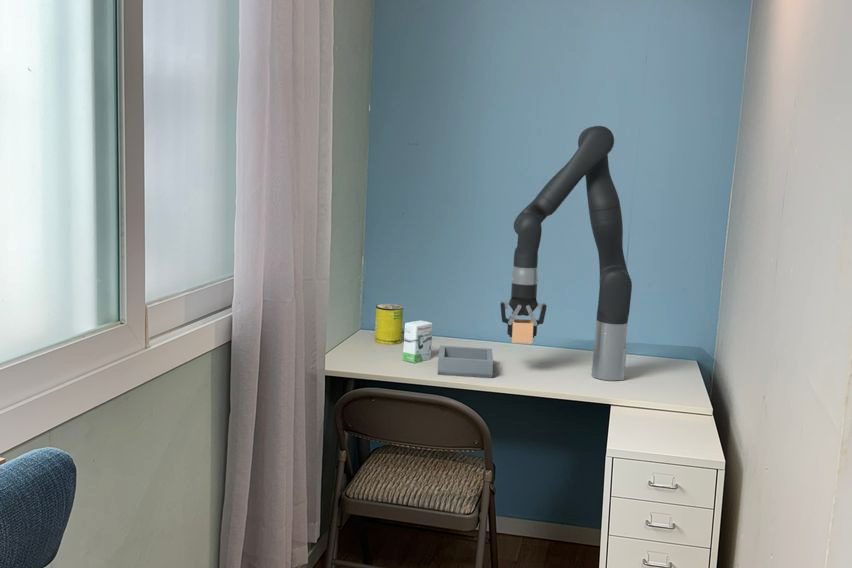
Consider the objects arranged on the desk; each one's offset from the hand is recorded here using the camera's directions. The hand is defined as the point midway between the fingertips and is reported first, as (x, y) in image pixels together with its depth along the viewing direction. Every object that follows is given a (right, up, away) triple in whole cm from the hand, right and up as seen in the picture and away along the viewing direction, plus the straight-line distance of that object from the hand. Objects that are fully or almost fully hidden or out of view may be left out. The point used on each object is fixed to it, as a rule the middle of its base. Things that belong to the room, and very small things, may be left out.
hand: (521, 336), depth 268 cm
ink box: (-32, -8, +11) cm, 34 cm away
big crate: (-17, -10, +3) cm, 20 cm away
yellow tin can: (-41, -4, +33) cm, 53 cm away
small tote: (0, -1, 0) cm, 1 cm away
